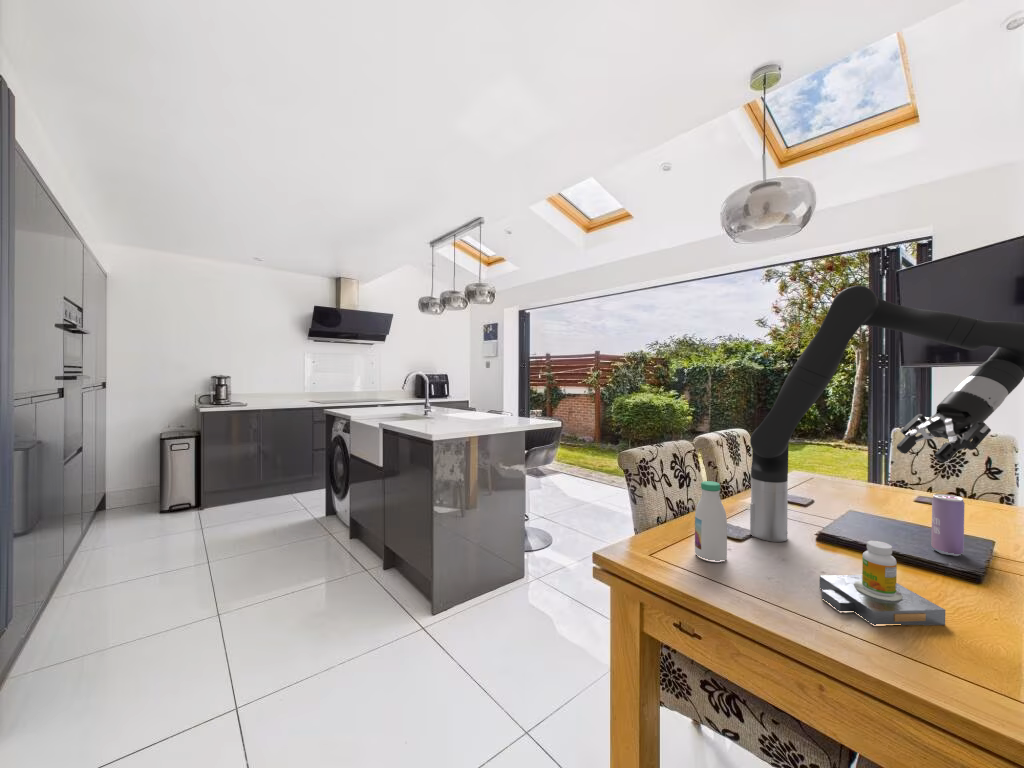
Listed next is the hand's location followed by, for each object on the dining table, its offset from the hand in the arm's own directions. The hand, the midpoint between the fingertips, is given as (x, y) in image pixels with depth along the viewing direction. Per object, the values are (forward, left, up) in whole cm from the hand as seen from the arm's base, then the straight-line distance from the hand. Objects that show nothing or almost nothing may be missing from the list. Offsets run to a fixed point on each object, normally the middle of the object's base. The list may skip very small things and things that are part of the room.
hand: (918, 454), depth 92 cm
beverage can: (+11, +31, -31) cm, 45 cm away
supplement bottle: (-8, -11, -27) cm, 31 cm away
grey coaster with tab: (-9, -12, -31) cm, 34 cm away
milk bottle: (-41, -5, -31) cm, 51 cm away
